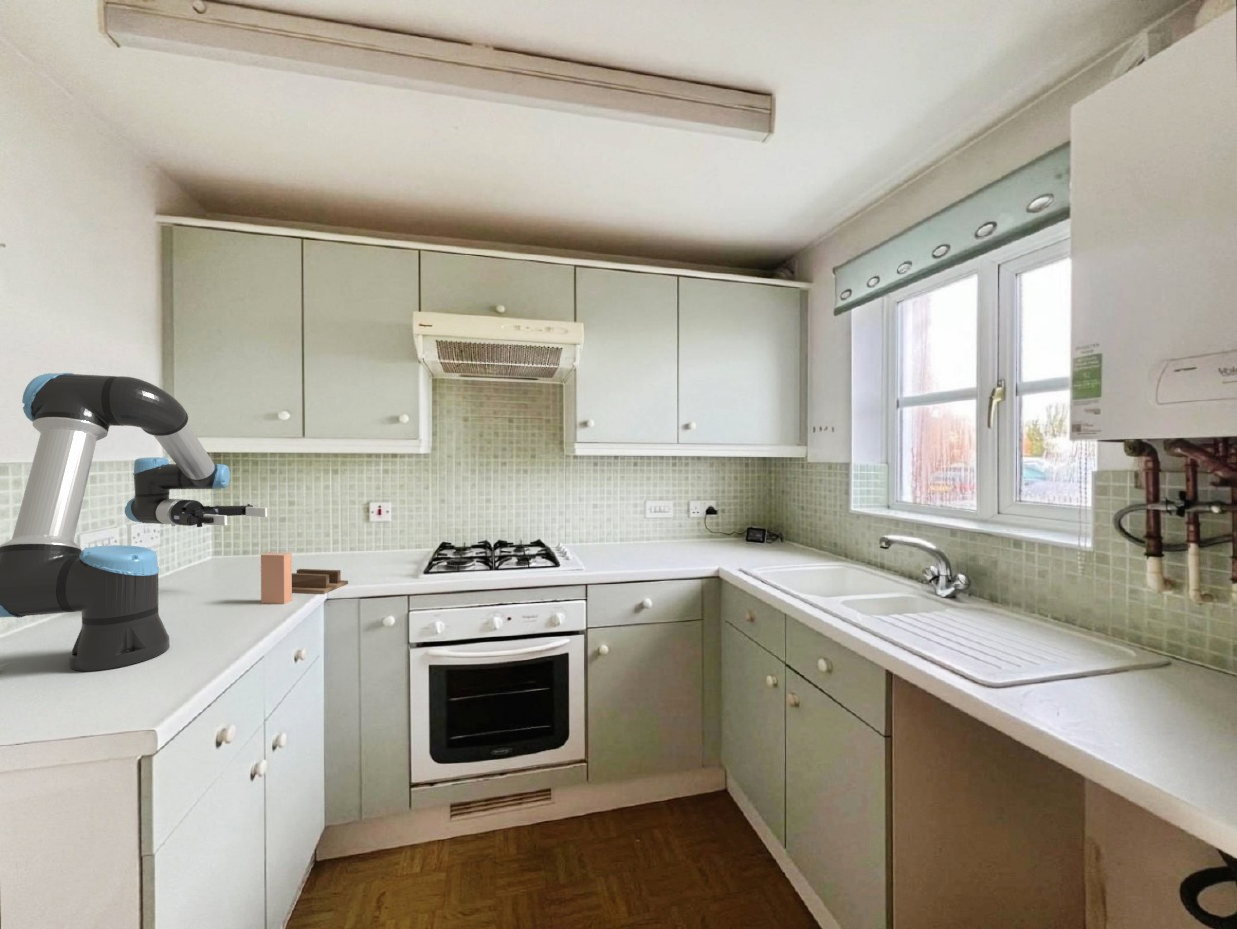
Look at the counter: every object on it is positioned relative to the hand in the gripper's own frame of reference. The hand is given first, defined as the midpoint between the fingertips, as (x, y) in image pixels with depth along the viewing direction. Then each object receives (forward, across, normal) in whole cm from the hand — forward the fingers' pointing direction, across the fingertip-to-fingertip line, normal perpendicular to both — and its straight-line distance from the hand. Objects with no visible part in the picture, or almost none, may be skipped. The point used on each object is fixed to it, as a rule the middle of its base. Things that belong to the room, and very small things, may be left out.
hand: (247, 516), depth 145 cm
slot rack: (+8, -15, -25) cm, 30 cm away
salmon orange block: (+9, 0, -25) cm, 26 cm away
